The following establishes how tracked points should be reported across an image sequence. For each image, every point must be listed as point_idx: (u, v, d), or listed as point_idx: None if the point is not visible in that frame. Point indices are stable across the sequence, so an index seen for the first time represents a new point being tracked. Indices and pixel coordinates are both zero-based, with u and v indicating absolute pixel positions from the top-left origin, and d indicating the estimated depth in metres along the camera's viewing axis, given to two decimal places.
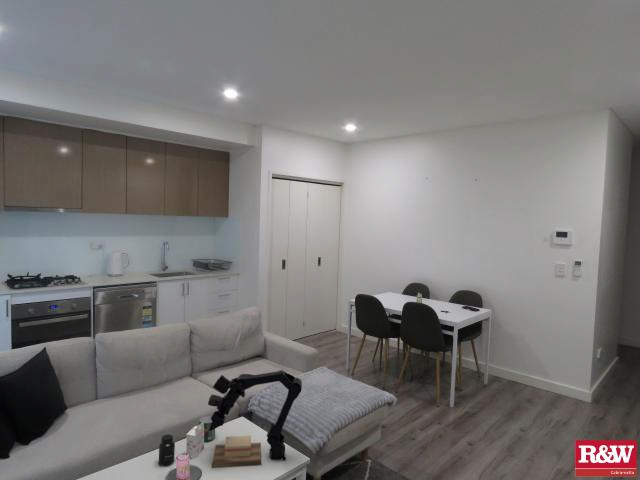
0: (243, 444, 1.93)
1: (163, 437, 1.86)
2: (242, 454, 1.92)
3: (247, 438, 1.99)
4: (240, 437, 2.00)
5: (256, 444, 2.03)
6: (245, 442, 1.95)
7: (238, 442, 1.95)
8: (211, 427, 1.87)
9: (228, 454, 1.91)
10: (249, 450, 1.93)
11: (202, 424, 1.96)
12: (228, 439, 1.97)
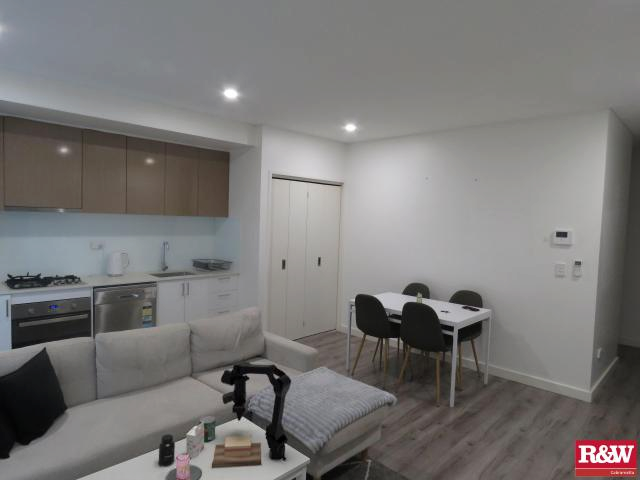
0: (243, 444, 1.93)
1: (163, 437, 1.86)
2: (242, 454, 1.92)
3: (247, 438, 1.99)
4: (240, 437, 2.00)
5: (256, 444, 2.03)
6: (245, 442, 1.95)
7: (238, 442, 1.95)
8: (238, 417, 2.01)
9: (228, 454, 1.91)
10: (249, 450, 1.93)
11: (202, 424, 1.96)
12: (228, 439, 1.97)
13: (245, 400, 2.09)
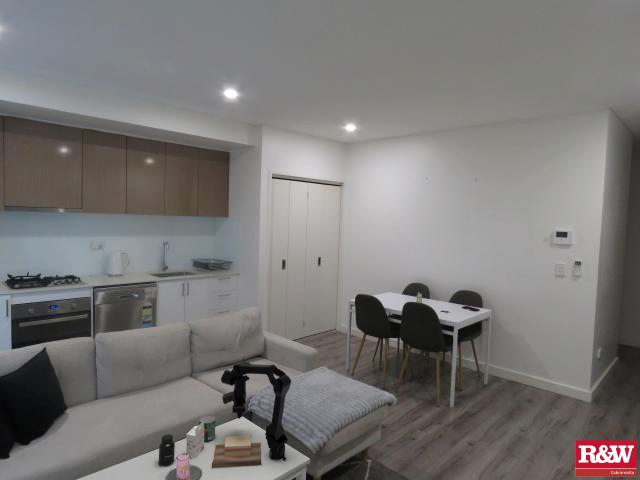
0: (243, 444, 1.93)
1: (163, 437, 1.86)
2: (242, 454, 1.92)
3: (247, 438, 1.99)
4: (240, 437, 2.00)
5: (256, 444, 2.03)
6: (245, 442, 1.95)
7: (238, 442, 1.95)
8: (238, 414, 2.03)
9: (228, 454, 1.91)
10: (249, 450, 1.93)
11: (202, 424, 1.96)
12: (228, 439, 1.97)
13: (245, 402, 2.07)
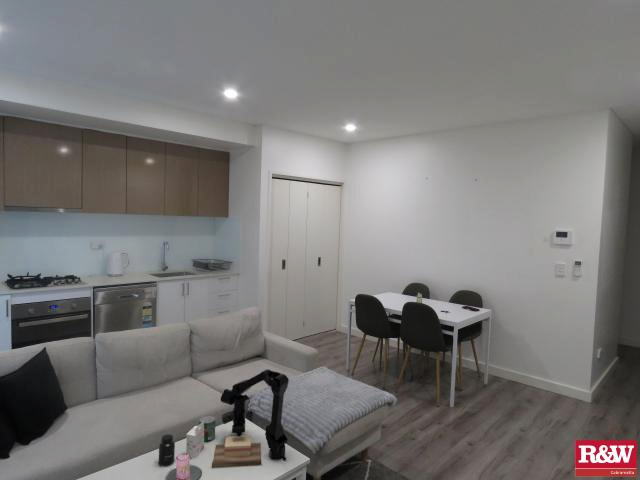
0: (243, 444, 1.93)
1: (163, 437, 1.86)
2: (242, 454, 1.92)
3: (247, 438, 1.99)
4: (240, 437, 2.00)
5: (256, 444, 2.03)
6: (245, 442, 1.95)
7: (238, 442, 1.95)
8: (238, 434, 2.04)
9: (228, 454, 1.91)
10: (249, 450, 1.93)
11: (202, 424, 1.96)
12: (228, 439, 1.97)
13: None
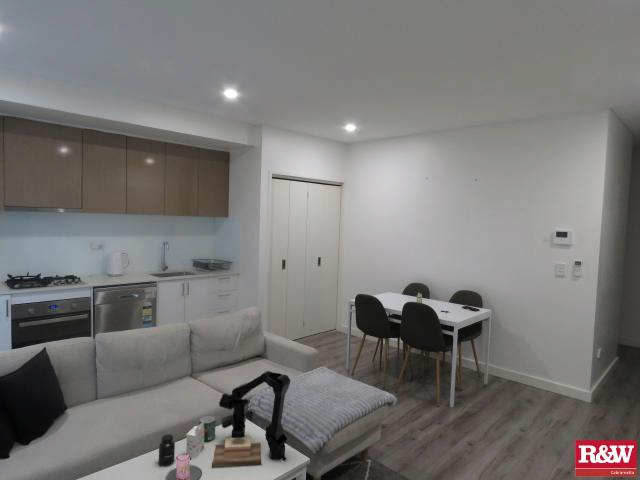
0: (243, 445, 1.93)
1: (163, 437, 1.86)
2: (242, 455, 1.92)
3: (247, 439, 1.98)
4: None
5: (256, 444, 2.03)
6: (245, 443, 1.95)
7: (238, 443, 1.94)
8: None
9: (228, 455, 1.91)
10: (249, 451, 1.92)
11: (202, 424, 1.96)
12: (228, 440, 1.97)
13: (244, 425, 2.05)
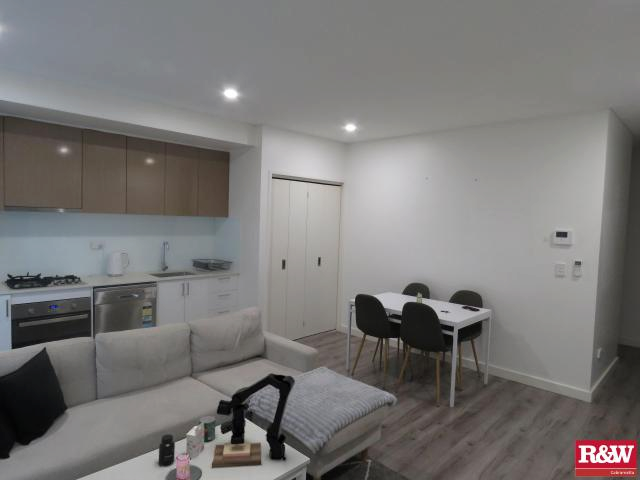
0: (242, 451, 1.87)
1: (163, 437, 1.86)
2: None
3: (246, 445, 1.93)
4: None
5: (256, 444, 2.03)
6: (244, 449, 1.89)
7: (237, 449, 1.89)
8: None
9: None
10: (248, 458, 1.87)
11: (202, 424, 1.96)
12: (227, 446, 1.91)
13: (244, 431, 2.00)
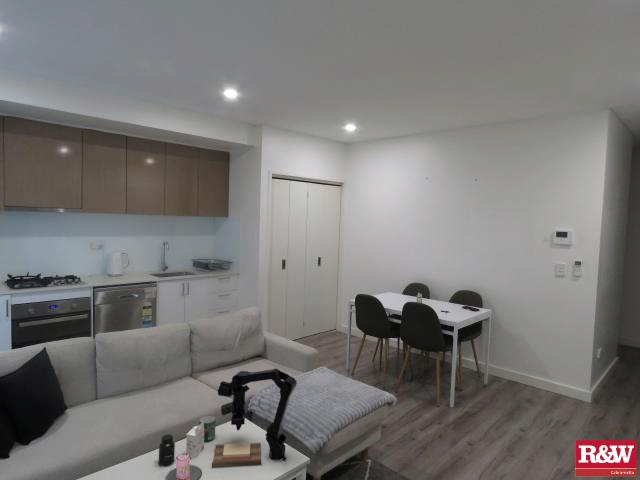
0: (242, 452, 1.87)
1: (163, 437, 1.86)
2: None
3: (246, 446, 1.92)
4: (238, 444, 1.93)
5: (256, 444, 2.03)
6: (244, 450, 1.88)
7: (237, 450, 1.88)
8: (237, 426, 1.97)
9: None
10: (248, 458, 1.86)
11: (202, 424, 1.96)
12: (226, 447, 1.91)
13: (244, 413, 2.01)
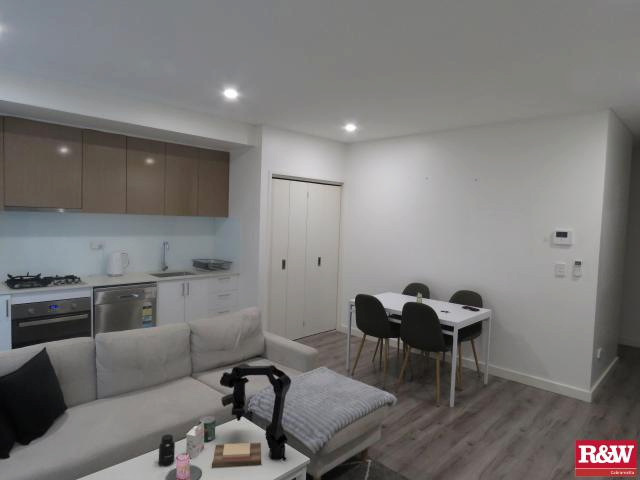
0: (242, 452, 1.87)
1: (163, 437, 1.86)
2: None
3: (246, 446, 1.92)
4: (238, 444, 1.93)
5: (256, 444, 2.03)
6: (244, 450, 1.88)
7: (237, 450, 1.88)
8: (238, 417, 2.03)
9: None
10: (248, 458, 1.86)
11: (202, 424, 1.96)
12: (226, 447, 1.91)
13: (244, 404, 2.06)
